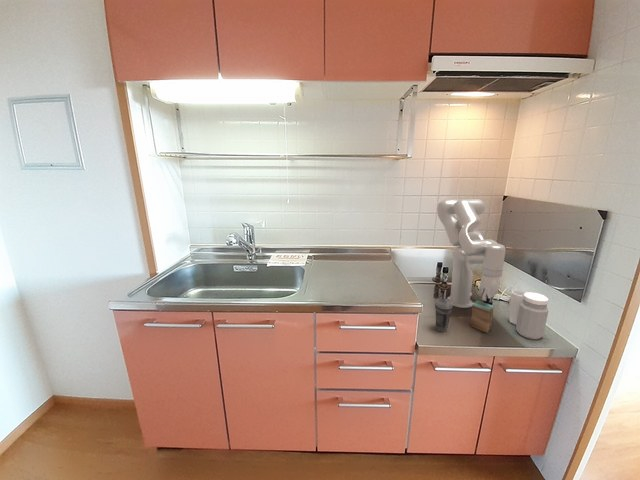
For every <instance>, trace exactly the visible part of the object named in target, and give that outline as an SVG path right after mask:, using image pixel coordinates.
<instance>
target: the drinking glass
mask: <svg viewBox="0 0 640 480" xmlns="http://www.w3.org/2000/svg"><path fill="white" fill-rule="evenodd" d="M526 292H527V291H524V290H519V289H513V290H512V291H511V294H510V301H509V318H508V321H509V323H512V324H513V325H516V324H517V318H518V312H519V306H520V303H521V302H522V301H523V295H524V293H526Z"/></svg>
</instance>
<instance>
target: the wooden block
mask: <svg viewBox="0 0 640 480" xmlns="http://www.w3.org/2000/svg"><path fill="white" fill-rule="evenodd" d="M471 308H472V309H471V319H470V321H471V323H470V327H472V328H475V329H477V330H478V331H481V332H484V333H487V334H488V333H489V332H490V331H491V330H492V326H493V324H492V323H493V318H494V317H493V315H494V308H495V307H494V305H493V304H492V305H490V304H487V303H484V301H480V300H479V299H477V300H475V301H473V306H472V307H471Z"/></svg>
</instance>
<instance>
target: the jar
mask: <svg viewBox="0 0 640 480" xmlns="http://www.w3.org/2000/svg"><path fill="white" fill-rule="evenodd" d="M525 292H526V293H524V295H523V301H522V302H521V303H520V306H519V312H518V318H517V324H515V330H516V332H517V333H518V334H519V335H520V336H521V337H524V338H526V339H531V340H539V339H541V338H543V337H544V336H545V335H544V334H545V329H546V325H547V319H548V315H549V308H548V304H549V298H548V297H547V296H546V295H544V294H542V293H538V292H533V291H532V292H530V291H528V292H527V291H525Z"/></svg>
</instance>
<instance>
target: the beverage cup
mask: <svg viewBox="0 0 640 480" xmlns="http://www.w3.org/2000/svg"><path fill="white" fill-rule="evenodd" d="M446 295H447V289H444V294H443V296H441V297H439V298H437V299H436V301H435V303H434V308H435V328H436V330H437V331H438V332H440V333H441V332H442V333H444V332H447V331H448V326H449V321H450V317H451V313H452V310H453V307H454V306H452V303H451V301H450V300H449V299H448V297H446Z"/></svg>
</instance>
